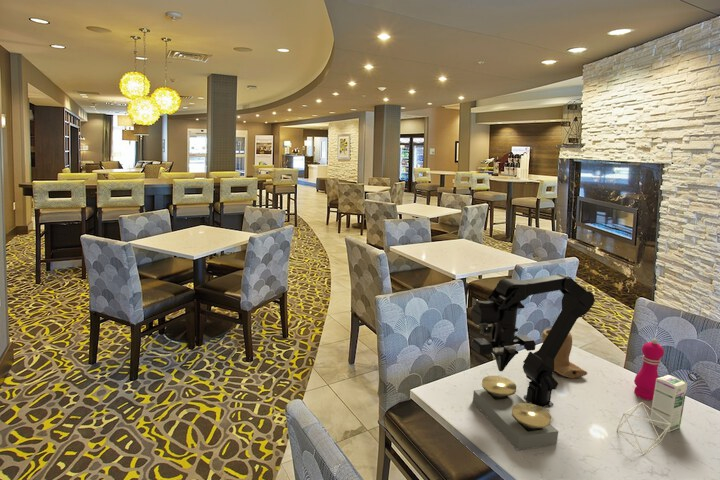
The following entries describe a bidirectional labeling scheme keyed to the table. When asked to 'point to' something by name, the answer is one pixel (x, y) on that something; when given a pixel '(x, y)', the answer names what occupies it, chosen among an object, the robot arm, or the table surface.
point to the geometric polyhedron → (643, 436)
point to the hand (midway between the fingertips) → (500, 370)
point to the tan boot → (565, 359)
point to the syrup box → (668, 402)
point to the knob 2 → (531, 416)
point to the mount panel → (512, 421)
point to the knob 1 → (498, 386)
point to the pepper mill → (648, 370)
